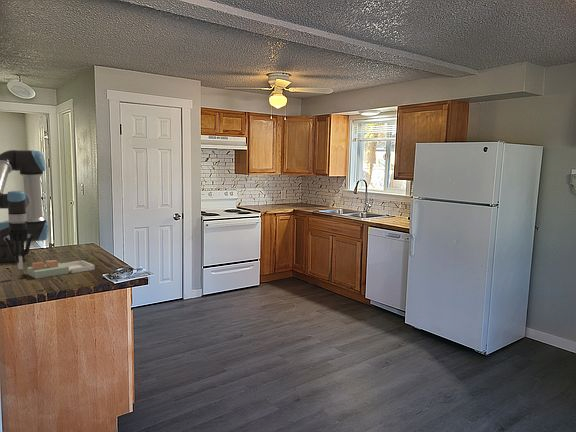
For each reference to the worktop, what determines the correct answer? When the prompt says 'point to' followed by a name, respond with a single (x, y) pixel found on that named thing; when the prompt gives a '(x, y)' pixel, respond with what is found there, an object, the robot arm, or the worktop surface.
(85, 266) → the tray
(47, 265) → the tile far
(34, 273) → the board
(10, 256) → the robot arm
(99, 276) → the worktop surface
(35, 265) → the tile near
